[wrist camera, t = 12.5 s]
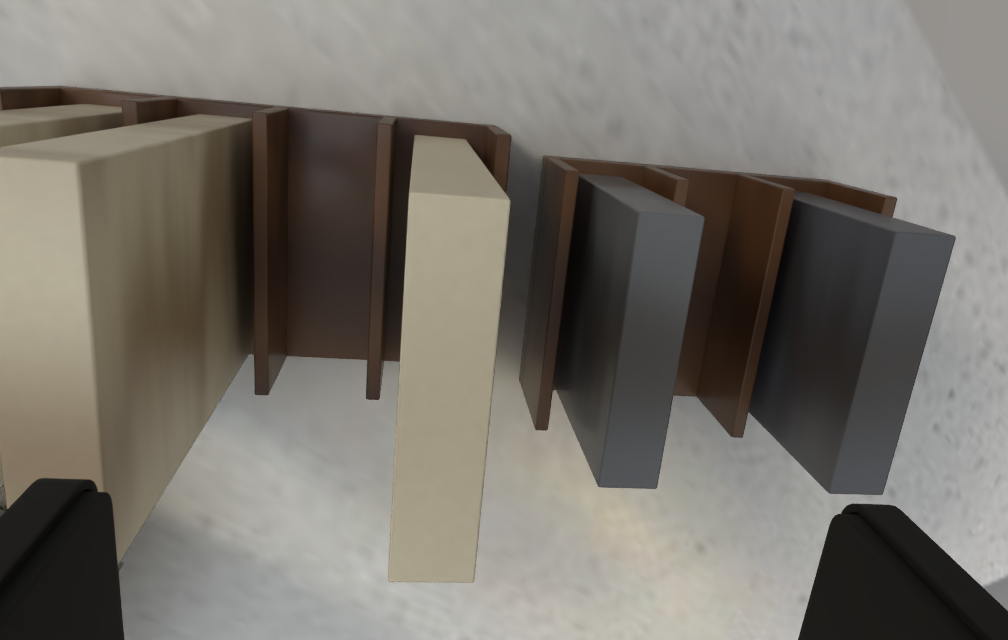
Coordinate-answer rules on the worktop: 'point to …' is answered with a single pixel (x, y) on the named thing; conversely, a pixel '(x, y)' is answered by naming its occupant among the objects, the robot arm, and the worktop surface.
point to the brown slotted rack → (726, 314)
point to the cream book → (446, 360)
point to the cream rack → (186, 268)
